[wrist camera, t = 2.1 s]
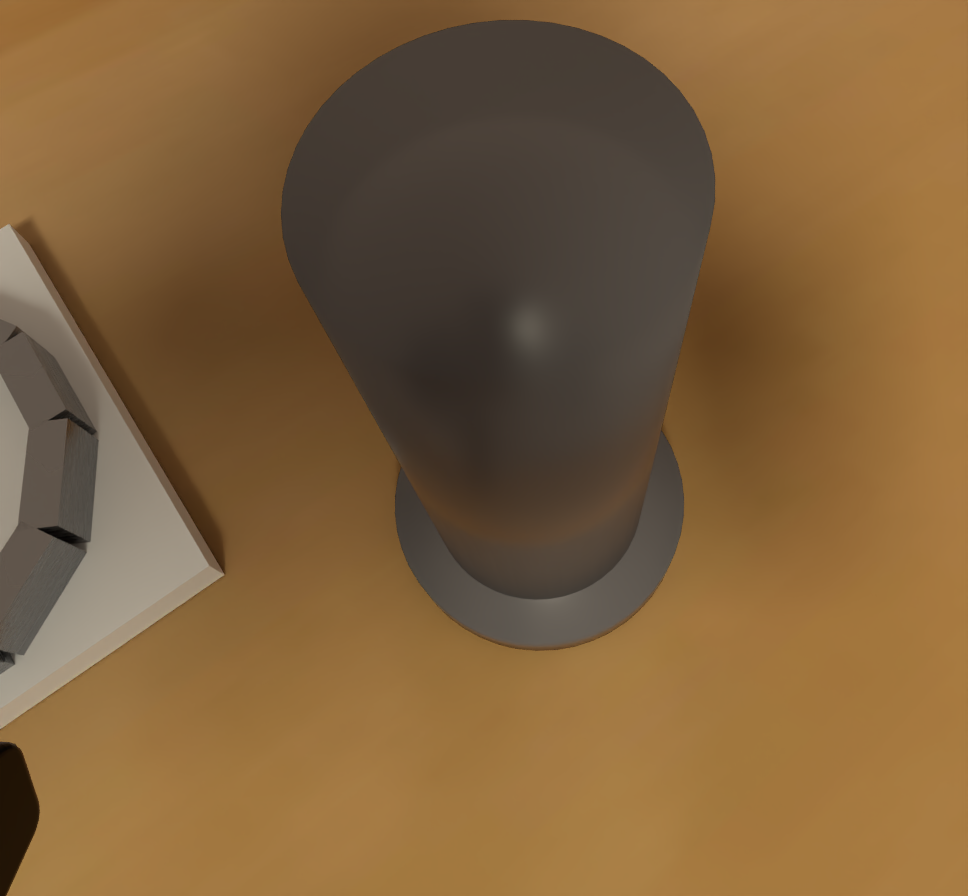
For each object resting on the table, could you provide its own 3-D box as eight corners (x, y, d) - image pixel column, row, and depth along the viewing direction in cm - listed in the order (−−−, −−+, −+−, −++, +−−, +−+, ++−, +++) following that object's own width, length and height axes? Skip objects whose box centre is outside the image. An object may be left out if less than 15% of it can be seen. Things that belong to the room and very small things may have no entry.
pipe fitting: (737, 538, 21) (950, 219, 9) (507, 710, 20) (407, 610, 8) (565, 340, 24) (553, -117, 12) (354, 486, 23) (101, 153, 11)
